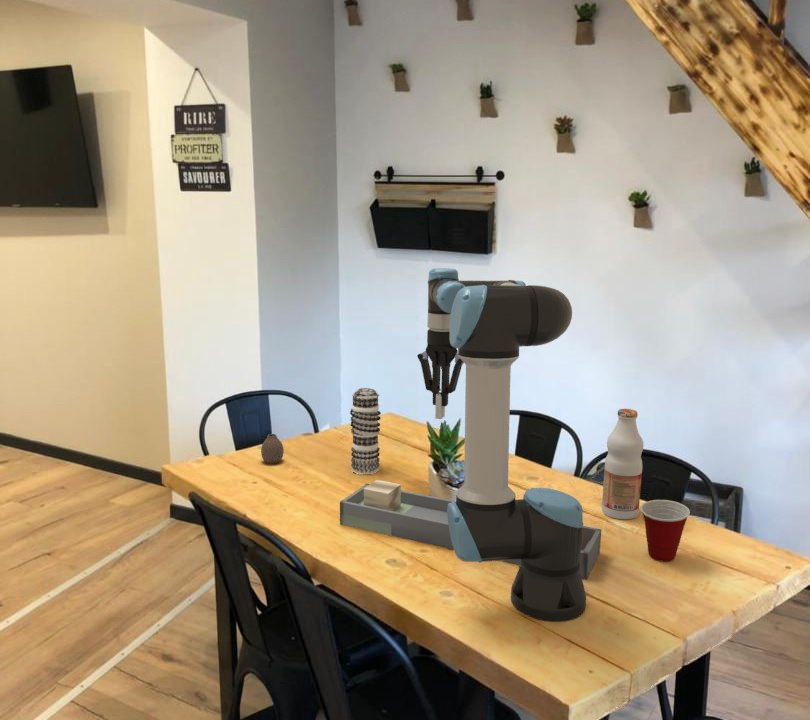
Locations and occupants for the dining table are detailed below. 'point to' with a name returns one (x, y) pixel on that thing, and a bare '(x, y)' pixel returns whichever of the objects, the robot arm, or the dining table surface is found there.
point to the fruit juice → (623, 468)
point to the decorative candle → (365, 431)
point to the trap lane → (434, 523)
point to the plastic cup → (664, 527)
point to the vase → (272, 449)
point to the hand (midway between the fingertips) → (440, 417)
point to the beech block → (383, 495)
